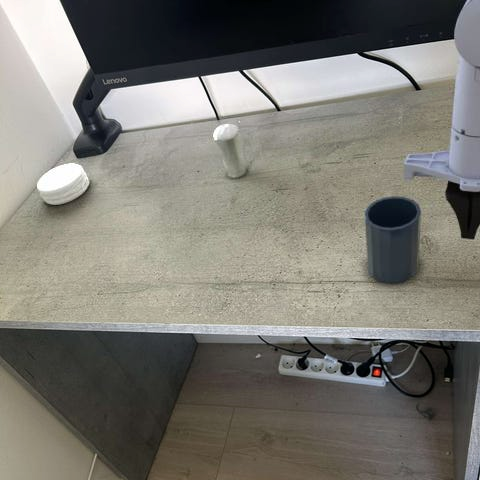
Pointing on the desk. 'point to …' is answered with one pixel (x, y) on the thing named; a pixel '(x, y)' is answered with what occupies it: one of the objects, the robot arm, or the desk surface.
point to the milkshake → (230, 149)
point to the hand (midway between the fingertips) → (469, 233)
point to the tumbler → (393, 239)
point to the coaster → (63, 184)
